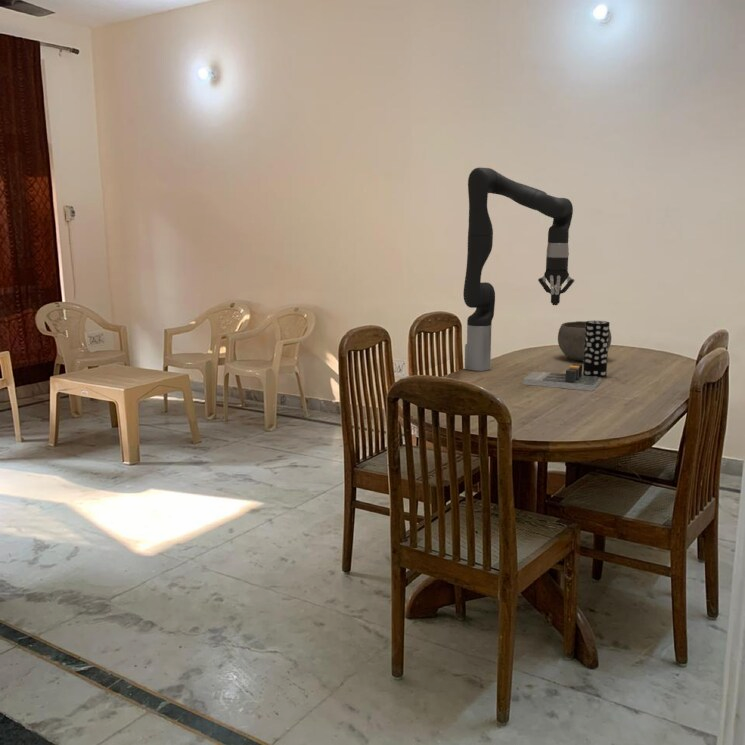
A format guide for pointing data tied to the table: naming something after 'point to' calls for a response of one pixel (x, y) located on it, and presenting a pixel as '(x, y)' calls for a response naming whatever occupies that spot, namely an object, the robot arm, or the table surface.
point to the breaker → (576, 370)
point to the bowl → (574, 339)
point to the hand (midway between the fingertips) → (555, 304)
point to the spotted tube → (596, 348)
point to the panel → (563, 380)
